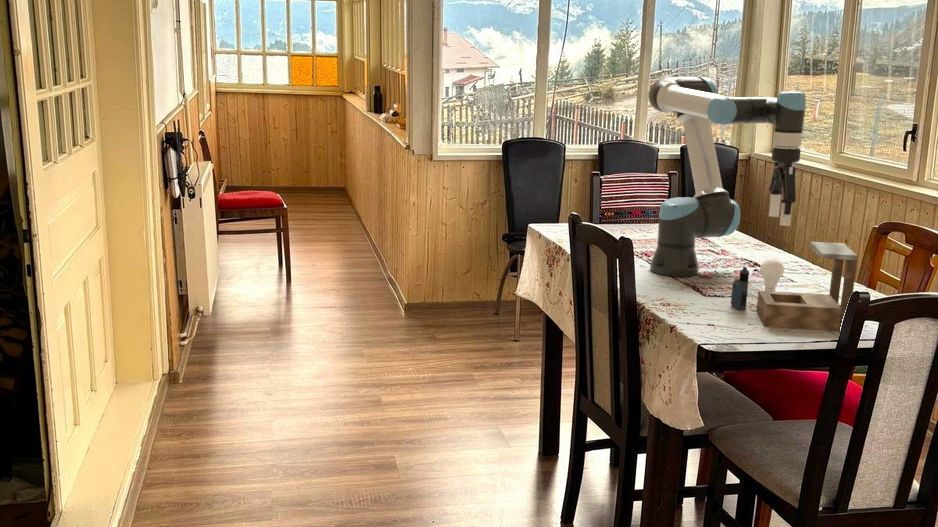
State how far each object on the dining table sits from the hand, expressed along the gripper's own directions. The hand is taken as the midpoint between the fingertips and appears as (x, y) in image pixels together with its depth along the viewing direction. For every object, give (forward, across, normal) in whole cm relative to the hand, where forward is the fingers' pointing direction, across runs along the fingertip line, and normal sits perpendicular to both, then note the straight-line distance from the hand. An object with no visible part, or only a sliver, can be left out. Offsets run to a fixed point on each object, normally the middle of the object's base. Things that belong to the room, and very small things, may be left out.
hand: (779, 221), depth 250 cm
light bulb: (+22, -1, +1) cm, 22 cm away
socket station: (+22, -26, -1) cm, 34 cm away
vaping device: (+22, -17, +13) cm, 30 cm away
